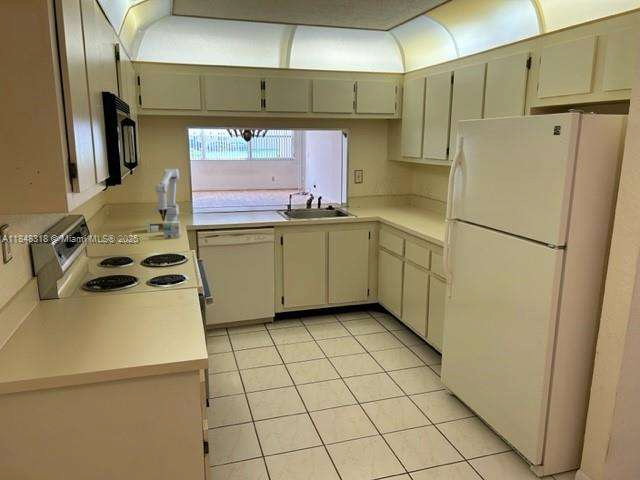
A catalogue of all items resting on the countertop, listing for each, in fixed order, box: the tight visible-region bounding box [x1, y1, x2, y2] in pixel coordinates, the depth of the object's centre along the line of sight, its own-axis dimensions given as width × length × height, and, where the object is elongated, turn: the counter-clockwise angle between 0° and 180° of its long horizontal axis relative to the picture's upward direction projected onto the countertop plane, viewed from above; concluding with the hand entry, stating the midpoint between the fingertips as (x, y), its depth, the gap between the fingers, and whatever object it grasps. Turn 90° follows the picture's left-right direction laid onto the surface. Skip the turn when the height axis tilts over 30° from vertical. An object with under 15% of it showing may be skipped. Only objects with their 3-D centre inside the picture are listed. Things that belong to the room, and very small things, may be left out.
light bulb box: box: [162, 220, 181, 239], centre depth 325 cm, size 11×7×11 cm, turn 101°
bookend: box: [146, 218, 151, 234], centre depth 337 cm, size 10×2×8 cm, turn 18°
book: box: [151, 226, 160, 233], centre depth 339 cm, size 8×5×3 cm, turn 18°
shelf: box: [149, 222, 164, 234], centre depth 341 cm, size 12×18×6 cm
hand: (163, 220), depth 339 cm, fingers closed
